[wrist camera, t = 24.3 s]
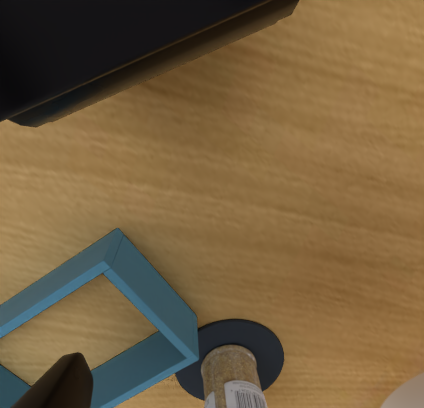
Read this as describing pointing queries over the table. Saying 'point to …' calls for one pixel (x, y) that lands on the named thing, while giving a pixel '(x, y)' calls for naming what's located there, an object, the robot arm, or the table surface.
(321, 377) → the table surface
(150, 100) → the table surface
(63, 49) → the robot arm
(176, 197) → the table surface
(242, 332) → the coaster
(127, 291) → the blue open rectangular frame
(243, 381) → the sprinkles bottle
